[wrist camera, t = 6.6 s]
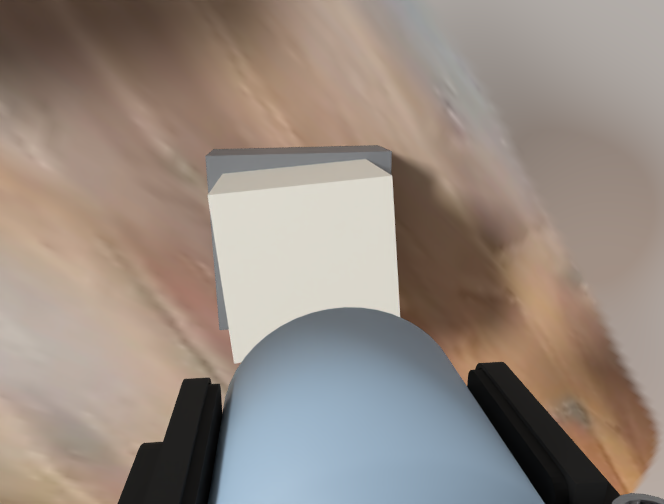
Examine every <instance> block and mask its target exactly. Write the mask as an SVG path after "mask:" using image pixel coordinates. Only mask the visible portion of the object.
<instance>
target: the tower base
mask: <svg viewBox="0 0 664 504" xmlns="http://www.w3.org/2000/svg"><path fill="white" fill-rule="evenodd" d="M391 155H392V151H390V150H387V149H385V148H383V147H380V146H378V145H373V146H331V147H289V148H247V149H213V150H212V151H211V152H210V153H209V154H207V155H206V168H207V181H208V193H209V192H210V191H211V190H212V188H213V187H214V185H215V184H216V182H217V181H218V179H219V178H220V177H221V175H222V174H225V173H234V172H244V171H254V170H264V169H273V168H283V167H293V166H302V165H312V164H322V163H331V162H341V161H351V160H361V159H367V160H368V161H370V162H371V163H373V164H375V165H376V166H378V167H379V168H381V169H382V170H384V171H386V172H387V173H389V174H390V175H391ZM210 218H211V214H210ZM211 230H212V243H213V255H214V267H215V280H216V292H217V305H218V317H219V329H220V330H227V329H229V327H228V321H227V314H226V308H225V302H224V296H223V289H222V283H221V277H220V270H219V264H218V258H217V252H216V245H215V239H214V233H213V226H212V220H211Z"/></svg>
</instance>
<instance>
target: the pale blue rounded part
mask: <svg viewBox="0 0 664 504" xmlns="http://www.w3.org/2000/svg"><path fill="white" fill-rule="evenodd" d="M208 504H545V503H544V502H543V500H542V499H541V497H540V496H539V494H538V493H537V491H536V490H535V488H534V487H533V485H532V484H531V482H530V481H529V479H528V478H527V476H526V475H525V473H524V472H523V470H522V469H521V467H520V466H519V464H518V463H517V461H516V460H515V458H514V457H513V455H512V454H511V452H510V451H509V449H508V448H507V446H506V445H505V443H504V442H503V440H502V439H501V437H500V436H499V434H498V433H497V431H496V430H495V428H494V427H493V425H492V424H491V422H490V421H489V419H488V418H487V416H486V415H485V413H484V412H483V410H482V408H481V407H480V405H479V404H478V402H477V401H476V399H475V398H474V396H473V395H472V393H471V392H470V390H469V389H468V387H467V386H466V384H465V383H464V381H463V380H462V378H461V377H460V375H459V374H458V372H457V371H456V369H455V368H454V366H453V365H452V363H451V362H450V360H449V359H448V357H447V356H446V355H445V353H444V352H443V350H442V349H441V347H440V346H439V345H438V344H437V343H436V342H435V341H434V340H433V339H432V338H431V337H430V336H429V335H428V334H427V333H425V332H424V331H423V330H422V329H420V328H419V327H417V326H416V325H414V324H412V323H411V322H409V321H407V320H405V319H403V318H400V317H398V316H396V315H393V314H390V313H387V312H383V311H379V310H374V309H368V308H356V307H343V308H333V309H326V310H322V311H317V312H313V313H310V314H307V315H304V316H301V317H299V318H296V319H294V320H292V321H290V322H288V323H286V324H284V325H282V326H280V327H279V328H277V329H276V330H274V331H273V332H271V333H270V334H268V335H267V336H266V337H265V338H264V339H262V340H261V341H260V342H259V343H258V344H257V345H256V346H255V347H254V348H253V349H252V350H251V351H250V352H249V353H248V354H247V356H246V357H245V358H244V359H243V361H242V362H241V364H240V365H239V367H238V368H237V370H236V372H235V374H234V376H233V378H232V380H231V382H230V384H229V387H228V391H227V394H226V397H225V402H224V408H223V414H222V420H221V426H220V432H219V438H218V444H217V450H216V456H215V462H214V468H213V474H212V480H211V486H210V492H209V498H208Z"/></svg>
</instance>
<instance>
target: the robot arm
mask: <svg viewBox="0 0 664 504" xmlns="http://www.w3.org/2000/svg"><path fill="white" fill-rule="evenodd" d="M467 387H468V389H469V390H470V392H471V393H472V395H473V396H474V398H475V399H476V401H477V402H478V404H479V405H480V407H481V408H482V410H483V412H484V413H485V415H486V416H487V418H488V419H489V421H490V422H491V424H492V425H493V427H494V428H495V430H496V431H497V433H498V434H499V436H500V437H501V439H502V440H503V442H504V443H505V445H506V446H507V448H508V449H509V451H510V452H511V454H512V455H513V457H514V458H515V460H516V461H517V463H518V464H519V466H520V467H521V469H522V470H523V472H524V473H525V475H526V476H527V478H528V479H529V481H530V482H531V484H532V485H533V487H534V488H535V490H536V491H537V493H538V494H539V496H540V497H541V499H542V500H543V502H544V503H545V504H664V500H663V499H661V498H659V497H655V496H651V495H646V494H635V493H630V494H625V495H621V496H620V494H619V493H618V492H617V491H616V490H615V489H614V487H613V486H612V485H611V484H610V483H609V482H608V481H607V479H606V478H605V477H604V476H603V475H602V474H601V473H600V471H599V470H598V469H597V468H596V467H595V466H594V465H593V463H592V462H591V461H590V460H589V459H588V458H587V457H586V455H585V454H584V453H583V452H582V451H581V450H580V448H579V447H578V446H577V445H576V444H575V443H574V442H573V440H572V439H571V438H570V437H569V436H568V435H567V434H566V432H565V431H564V430H563V429H562V428H561V427H560V426H559V424H558V423H557V422H556V421H555V420H554V419H553V418H552V417H551V415H550V414H549V413H548V412H547V411H546V410H545V409H544V407H543V406H542V405H541V404H540V403H539V402H538V401H537V399H536V398H535V397H534V396H533V395H532V394H531V392H530V391H529V390H528V389H527V388H526V387H525V386H524V384H523V383H522V382H521V381H520V380H519V379H518V378H517V376H516V375H515V374H514V373H513V372H512V371H511V370H510V368H509V367H508V366H507V365H506V364H505V363H504V362H492V363H478V364H477V366H476V369H475V370H470V371H469V375H468V385H467ZM221 420H222V402H221V388H220V384H211V379H210V378H194V379H184V380H183V382H182V385H181V388H180V392H179V395H178V398H177V401H176V404H175V407H174V410H173V413H172V416H171V419H170V422H169V425H168V428H167V431H166V435H165V438H164V441H163V442H154V443H143V444H142V445H141V446H140V448H139V450H138V453H137V455H136V458H135V460H134V463H133V466H132V468H131V471H130V473H129V476H128V478H127V481H126V484H125V486H124V489H123V491H122V494H121V497H120V499H119V502H118V504H208V498H209V492H210V486H211V480H212V474H213V468H214V462H215V456H216V450H217V444H218V438H219V432H220V426H221Z"/></svg>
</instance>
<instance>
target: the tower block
mask: <svg viewBox="0 0 664 504" xmlns="http://www.w3.org/2000/svg"><path fill="white" fill-rule="evenodd" d="M208 201H209V207H210V214H211V220H212V226H213V233H214V239H215V245H216V252H217V258H218V264H219V270H220V277H221V283H222V289H223V296H224V302H225V308H226V314H227V321H228V327H229V333H230V340H231V346H232V352H233V358H234V363H241V362H242V361H243V359H244V358H245V357H246V356H247V354H248V353H249V352H250V351H251V350H252V349H253V348H254V347H255V346H256V345H257V344H258V343H259V342H260V341H261V340H262V339H264V338H265V337H266V336H267V335H268V334H270V333H271V332H273V331H274V330H276V329H277V328H279V327H280V326H282V325H284V324H286V323H288V322H290V321H292V320H294V319H296V318H299V317H301V316H304V315H307V314H310V313H313V312H317V311H322V310H326V309H333V308H343V307H356V308H368V309H374V310H379V311H383V312H387V313H390V314H393V315H396V316H398V317H400V305H399V287H398V269H397V251H396V234H395V216H394V198H393V180H392V175H390V174H389V173H387V172H386V171H384V170H382V169H381V168H379V167H378V166H376V165H375V164H373V163H371V162H370V161H368V160H367V159H361V160H351V161H341V162H331V163H322V164H312V165H302V166H293V167H283V168H273V169H264V170H254V171H244V172H234V173H225V174H222V175H221V177H220V178H219V179H218V181H217V182H216V184H215V185H214V187H213V188H212V190H211V191H210V192H209V194H208Z"/></svg>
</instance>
